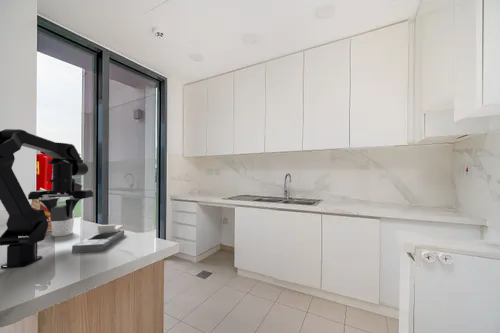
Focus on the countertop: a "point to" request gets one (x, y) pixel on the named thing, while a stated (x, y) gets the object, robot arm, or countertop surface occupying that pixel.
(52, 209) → the plug
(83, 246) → the socket plate
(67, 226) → the white cup
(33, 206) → the milk carton
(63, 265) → the countertop surface
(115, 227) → the panel
